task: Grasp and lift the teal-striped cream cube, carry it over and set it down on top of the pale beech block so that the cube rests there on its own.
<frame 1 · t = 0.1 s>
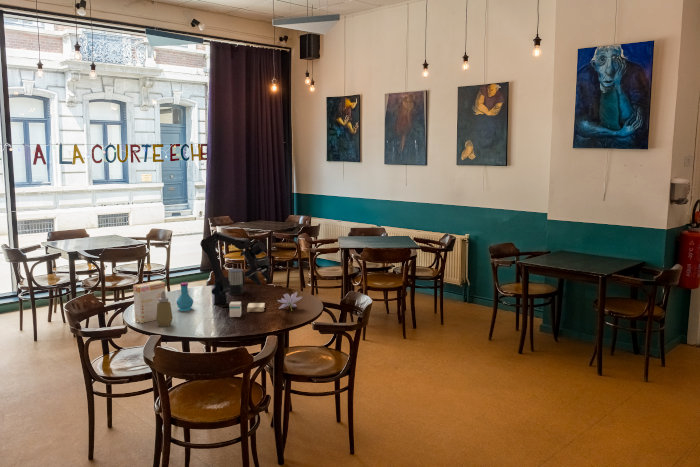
hand: (265, 283, 338), 15 cm above the table, tool tilted 30°, fingers open, 9 cm apart
teal-striped cream cube: (235, 315, 329), on the table
milk frother: (231, 292, 380), on the table
perfume bottle: (185, 309, 342), on the table
water lily: (290, 309, 341), on the table
coffeecake box: (151, 319, 322), on the table
squeeze bottle: (164, 325, 311), on the table
block: (256, 310, 340), on the table
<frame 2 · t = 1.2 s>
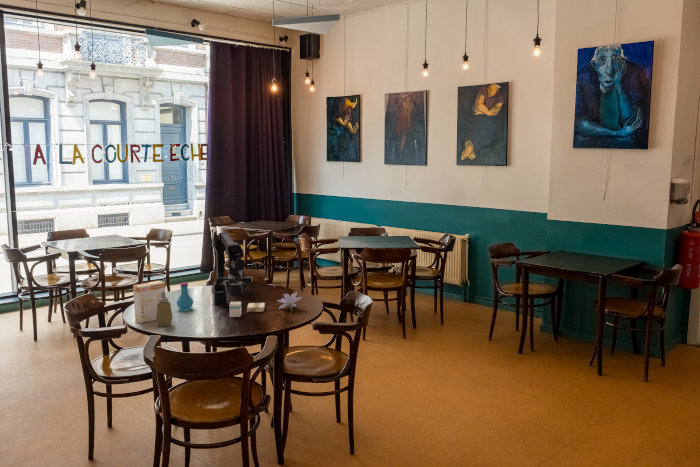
hand: (235, 295, 327), 11 cm above the table, tool pointing down, fingers open, 9 cm apart
nothing on the table moved.
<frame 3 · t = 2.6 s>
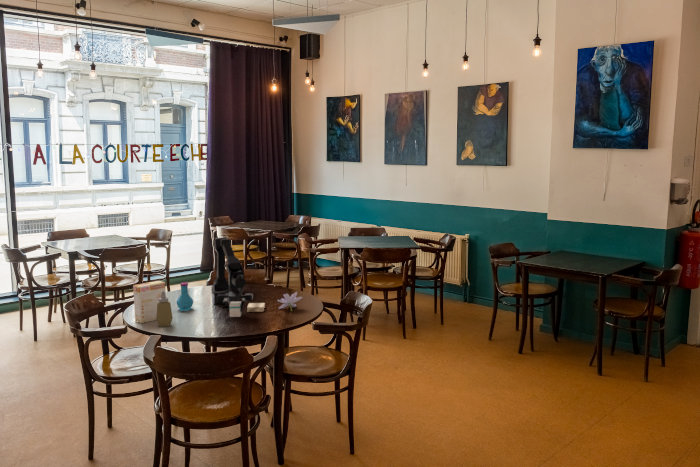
hand: (235, 312, 328), 2 cm above the table, tool pointing down, fingers closed on teal-striped cream cube, 6 cm apart
teal-striped cream cube: (235, 315, 329), on the table, touching gripper
everything else where it was.
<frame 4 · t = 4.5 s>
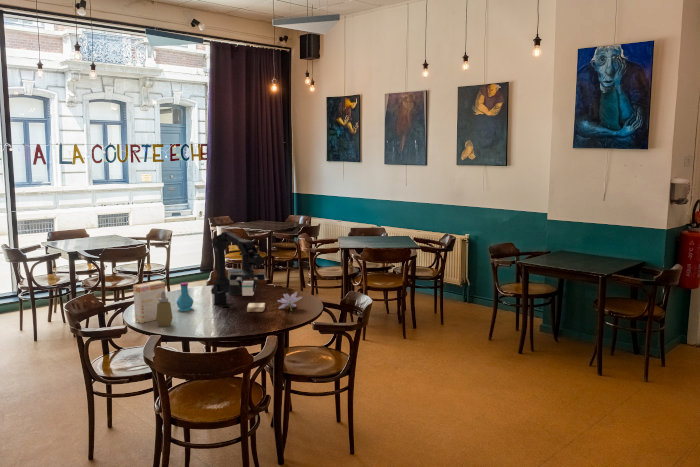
hand: (248, 291, 334), 11 cm above the table, tool pointing down, fingers closed on teal-striped cream cube, 6 cm apart
teal-striped cream cube: (248, 294, 334), point 10 cm above the table, touching gripper
everything else where it was.
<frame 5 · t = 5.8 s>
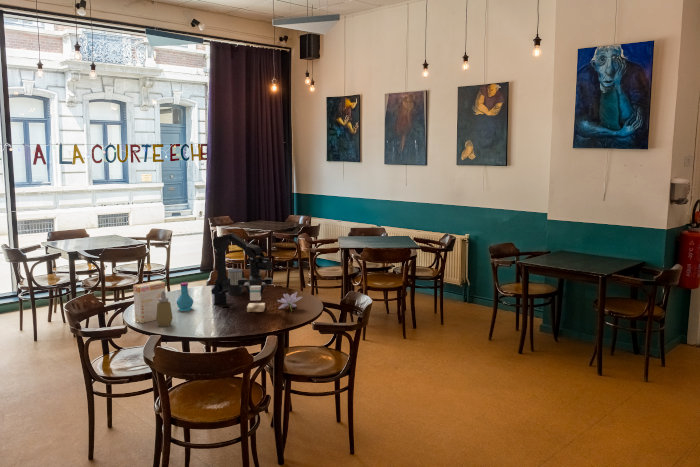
hand: (255, 296, 339), 8 cm above the table, tool pointing down, fingers closed on teal-striped cream cube, 6 cm apart
teal-striped cream cube: (255, 299, 339), point 6 cm above the table, touching gripper
everything else where it was.
when the fingers open (5 cm above the table, at t = 6.8 s): teal-striped cream cube drops 1 cm, point 3 cm above the table.
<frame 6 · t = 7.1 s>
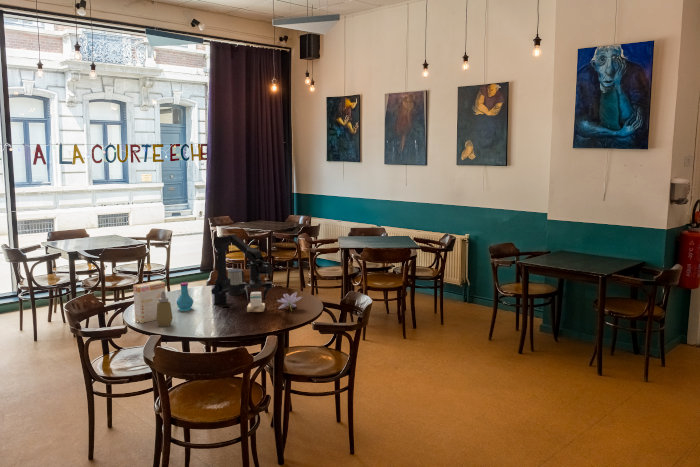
hand: (255, 300, 339), 5 cm above the table, tool pointing down, fingers open, 9 cm apart
teal-striped cream cube: (256, 305, 340), point 3 cm above the table
everything else where it was.
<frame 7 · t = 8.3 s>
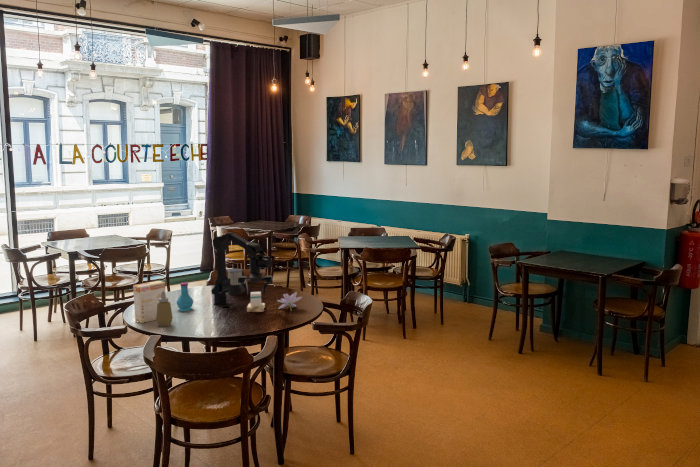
hand: (255, 294, 339), 9 cm above the table, tool pointing down, fingers open, 9 cm apart
teal-striped cream cube: (256, 305, 340), point 3 cm above the table, touching block
block: (256, 310, 340), on the table, touching teal-striped cream cube
everything else where it was.
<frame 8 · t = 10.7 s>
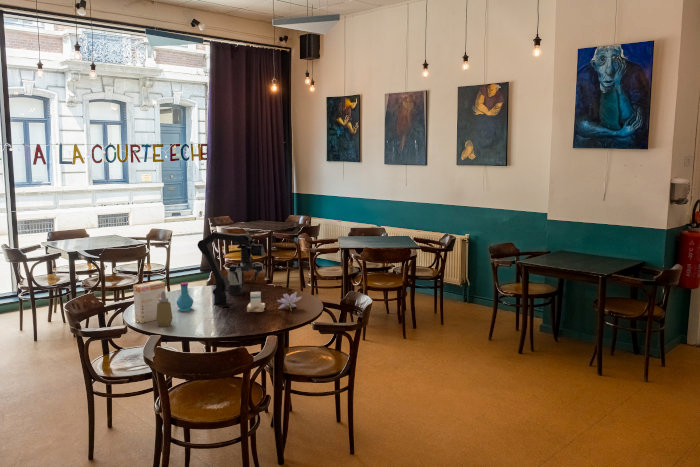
hand: (246, 282, 349), 13 cm above the table, tool pointing down, fingers open, 9 cm apart
nothing on the table moved.
at the end: teal-striped cream cube inside the target area on the block (0.1 cm from its centre), point 3.0 cm above the block's base; teal-striped cream cube tilted 0°; teal-striped cream cube touching block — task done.
